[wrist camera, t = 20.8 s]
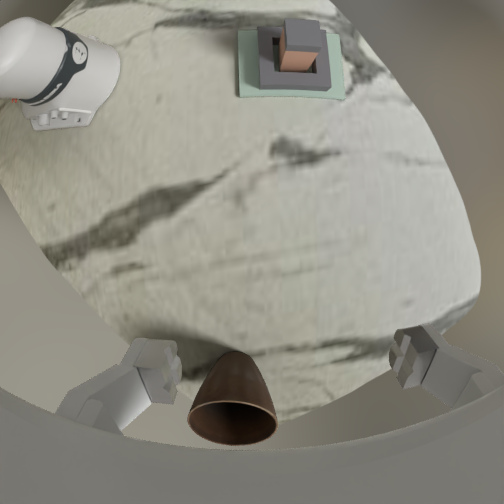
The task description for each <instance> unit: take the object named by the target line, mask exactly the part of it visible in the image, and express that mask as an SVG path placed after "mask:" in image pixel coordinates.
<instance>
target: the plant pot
mask: <svg viewBox="0 0 504 504" xmlns="http://www.w3.org/2000/svg"><path fill="white" fill-rule="evenodd" d="M187 421H188V424H189V426H190V427H191V429H192V430H193V431H194V432H195V433H196V434H197V435H199V436H201V437H202V438H204V439H206V440H209V441H211V442H214V443H218V444H223V445H231V446H244V445H251V444H256V443H259V442H262V441H264V440H266V439H268V438H270V437H271V436H272V435H273V434H274V433H275V432H276V430H277V428H278V421H277V417H276V413H275V409H274V406H273V402H272V399H271V396H270V394H269V391H268V388H267V386H266V383H265V381H264V379H263V377H262V375H261V373H260V371H259V369H258V367H257V366H256V364H255V362H254V361H253V359H252V358H251V357H250V356H248V355H247V354H244V353H241V352H230V353H227V354H225V355H223V356H222V357H221V358H220V359H219V360H218V362H217V363H216V364H215V365H214V367H213V368H212V369H211V371H210V372H209V374H208V375H207V377H206V379H205V380H204V382H203V384H202V385H201V387H200V389H199V391H198V393H197V395H196V397H195V400H194V402H193V405H192V407H191V409H190V412H189V414H188V418H187Z"/></svg>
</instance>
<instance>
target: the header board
mask: <svg viewBox="0 0 504 504" xmlns="http://www.w3.org/2000/svg"><path fill="white" fill-rule="evenodd" d="M282 29H283V27H257V30H241V31H238V60H239V89H240V98H244V97H307V98H324V99H336V100H345V86H344V74H343V64H342V56H341V47H340V40H339V35H337V34H329V33H326V30H320V33H321V41H322V48H321V50H320V51H319V53H318V55H317V56H316V58H315V59H314V61H313V62H312V64H311V65H310V67H309V69H308V70H307V72H306V73H299V72H279V59H278V47H279V43H280V38H281V34H282Z"/></svg>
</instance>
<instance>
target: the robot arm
mask: <svg viewBox="0 0 504 504" xmlns="http://www.w3.org/2000/svg"><path fill="white" fill-rule="evenodd" d="M0 1H1V0H0ZM119 73H120V58H119V55H118V53H117V51H116V50H115V49H114V48H113V47H111V46H110V45H107V44H104V43H101V42H100V41H99V40H98V39H97V38H96V37H95V36H92V35H91V36H88V37H86V36H84V35H81V34H78V33H75V32H70V30H68V29H64V28H60V27H52V26H50V25H48V24H46V23H43V22H41V21H39V20H36V19H34V18H31V17H22V18H18V19H15V20H13V21H11V22H8V23H7V24H5V25H4V26H2V27H1V28H0V99H2V98H12V103H13V100H14V99H15V103H16V102H17V99H19V100H21V106H22V112H23V115H24V117H25V118H26V119H30V120H31V124H32V127H33V129H34V130H35V131H43V130H52V129H62V128H74V127H86V126H88V125H89V124H90V122H91V120H92V119H93V116H94V114H95V112H96V110H97V109H98V108H99V107H100V106H101V105H102V104H103V103H104V102H105V100H106V99H107V98H108V97H109V95H110V94H111V92H112V91H113V89H114V87H115V85H116V83H117V80H118V77H119ZM79 119H81V120H80V122H79ZM394 340H395V343H394V344H393V345H392V346H391V348H390V352H389V362H390V366H391V368H392V370H394V371H396V372H397V373H398V375H397V379H398V381H399V383H400V385H401V387H402V389H406V388H410V387H414V386H418V385H421V386H422V387H423V388H424V389H426V390H427V391H428V392H430V393H431V394H432V395H434V396H435V397H437V398H438V399H439V400H441V401H442V402H443V403H445V404H446V405H448V406H449V407H450V408H452V409H451V411H450V412H447V413H445V414H443V415H440V416H437V417H435V418H432V419H429V420H427V421H423V422H421V423H418V424H415V425H412V426H408V427H405V428H402V429H398V430H395V431H391V432H388V433H384V434H380V435H376V436H372V437H367V438H363V439H358V440H353V441H348V442H342V443H336V444H330V445H322V446H314V447H305V448H294V449H282V450H281V449H280V450H220V449H205V448H194V447H185V446H176V445H170V444H163V443H157V442H151V441H146V440H141V439H136V438H132V437H127V436H124V435H123V433H122V432H121V430H122V429H123V428H124V427H126V426H127V425H128V424H129V423H130V422H131V421H132V420H134V419H135V418H136V417H137V416H138V415H139V414H140V413H142V412H143V411H144V410H145V409H146V408H147V407H148V406H149V405H150V404H151V402H153V403H163V404H174V401H175V398H176V394H177V388H176V385H177V384H178V383H180V381H181V377H182V363H181V359H180V358H179V357H178V356H177V355H176V353H177V351H178V348H177V344H176V342H175V341H173V340H160V339H148V338H135V339H134V340H133V342H132V344H131V346H130V347H129V349H128V351H127V352H126V354H125V356H124V358H123V359H122V361H121V363H120V365H117V364H116V365H114V366H112V367H111V368H109V369H107V370H106V371H104V372H102V373H100V374H98V375H97V376H95V377H93V378H91V379H89V380H88V381H86V382H84V383H82V384H81V385H79V386H77V387H75V388H73V389H72V390H70V391H68V393H67V394H66V396H65V398H64V399H63V401H62V402H61V404H60V406H59V407H58V409H57V411H56V412H55V414H54V413H52V412H49V411H47V410H44V409H42V408H40V407H38V406H36V405H33V404H31V403H29V402H27V401H25V400H23V399H21V398H19V397H17V396H15V395H13V394H11V393H9V392H7V391H6V390H4V389H2V388H1V387H0V504H504V374H503V373H502V372H501V371H500V369H499V368H498V367H497V366H496V364H494V363H492V362H489V361H487V360H485V359H483V358H480V357H478V356H476V355H474V354H471V353H469V352H467V351H465V350H462V349H460V348H458V347H456V346H453V345H451V346H450V345H449V344H448V343H447V342H446V341H445V339H444V338H443V337H442V336H441V335H440V333H439V332H438V331H437V330H436V329H435V328H434V326H433V325H432V324H430V323H427V324H422V325H418V326H414V327H408V328H402V329H397V331H396V332H395V335H394Z"/></svg>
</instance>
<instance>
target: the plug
mask: <svg viewBox="0 0 504 504" xmlns="http://www.w3.org/2000/svg"><path fill="white" fill-rule="evenodd" d="M321 48H322V41H321V33H320V25H319V21H316V20H305V19H288V18H285V20H284V25H283V29H282V34H281V38H280V43H279V47H278V59H279V72H299V73H306V72H307V70H308V69H309V67H310V65H311V64H312V62H313V61H314V59H315V58H316V56H317V55H318V53H319V51H320V50H321Z"/></svg>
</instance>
